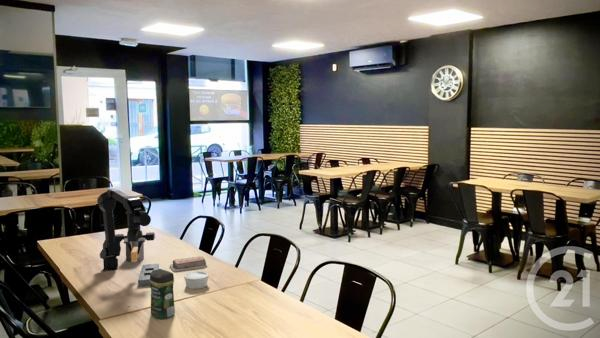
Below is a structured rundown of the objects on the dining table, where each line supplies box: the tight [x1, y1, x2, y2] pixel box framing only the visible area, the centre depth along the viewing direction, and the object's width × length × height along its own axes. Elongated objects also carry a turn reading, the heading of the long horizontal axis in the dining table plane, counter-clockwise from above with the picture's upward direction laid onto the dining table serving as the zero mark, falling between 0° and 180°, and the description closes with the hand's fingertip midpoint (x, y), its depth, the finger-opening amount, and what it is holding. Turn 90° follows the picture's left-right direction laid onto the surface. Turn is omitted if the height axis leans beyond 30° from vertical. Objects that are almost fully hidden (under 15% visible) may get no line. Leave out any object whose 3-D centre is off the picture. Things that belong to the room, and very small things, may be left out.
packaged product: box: [169, 255, 208, 273], centre depth 249 cm, size 18×5×10 cm
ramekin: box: [183, 271, 209, 290], centre depth 221 cm, size 11×11×5 cm
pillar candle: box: [125, 234, 145, 263], centre depth 261 cm, size 10×10×15 cm
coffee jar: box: [150, 268, 176, 320], centre depth 187 cm, size 10×8×19 cm
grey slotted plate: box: [137, 263, 160, 287], centre depth 232 cm, size 24×8×3 cm, turn 13°
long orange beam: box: [131, 247, 139, 263], centre depth 229 cm, size 2×10×5 cm, turn 12°
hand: (135, 254), depth 230 cm, fingers closed on long orange beam, 2 cm apart
